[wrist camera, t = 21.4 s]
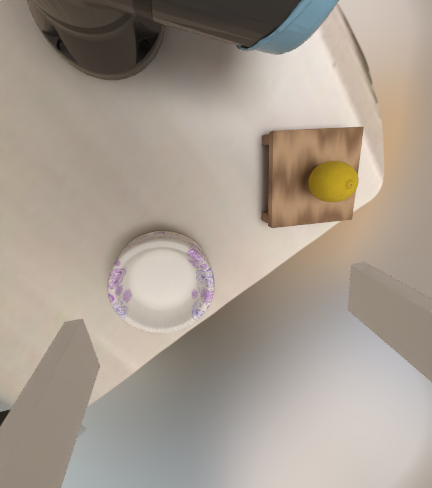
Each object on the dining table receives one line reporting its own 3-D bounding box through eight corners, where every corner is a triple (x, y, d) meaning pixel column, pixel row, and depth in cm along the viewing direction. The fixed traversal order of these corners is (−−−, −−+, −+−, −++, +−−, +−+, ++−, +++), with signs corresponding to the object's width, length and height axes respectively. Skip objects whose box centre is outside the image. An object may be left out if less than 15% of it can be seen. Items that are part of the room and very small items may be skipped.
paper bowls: (99, 247, 41) (84, 268, 33) (187, 211, 41) (191, 222, 34) (142, 319, 46) (138, 350, 39) (219, 286, 47) (229, 310, 39)
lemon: (299, 161, 37) (332, 163, 30) (334, 159, 38) (374, 159, 31) (298, 199, 39) (328, 209, 32) (330, 196, 40) (368, 204, 32)
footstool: (273, 130, 35) (363, 126, 37) (262, 133, 39) (343, 129, 41) (271, 228, 40) (352, 219, 42) (261, 221, 44) (335, 213, 46)
